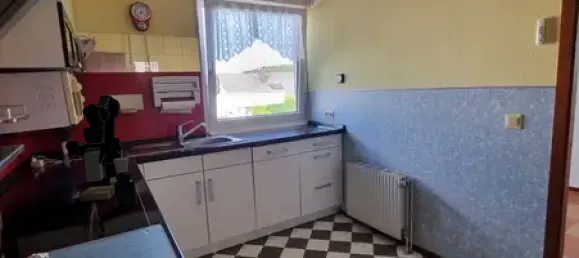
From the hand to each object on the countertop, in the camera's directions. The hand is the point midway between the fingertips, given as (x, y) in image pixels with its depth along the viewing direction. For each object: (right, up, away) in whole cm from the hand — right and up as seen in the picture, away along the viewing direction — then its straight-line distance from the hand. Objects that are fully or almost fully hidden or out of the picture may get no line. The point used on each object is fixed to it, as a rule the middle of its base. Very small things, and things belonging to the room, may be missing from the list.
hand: (92, 163), depth 127 cm
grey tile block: (+3, -12, +15) cm, 19 cm away
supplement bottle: (+17, -14, -8) cm, 24 cm away
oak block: (+1, -14, +3) cm, 14 cm away
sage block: (0, -6, +2) cm, 7 cm away
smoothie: (-2, -10, +26) cm, 28 cm away
